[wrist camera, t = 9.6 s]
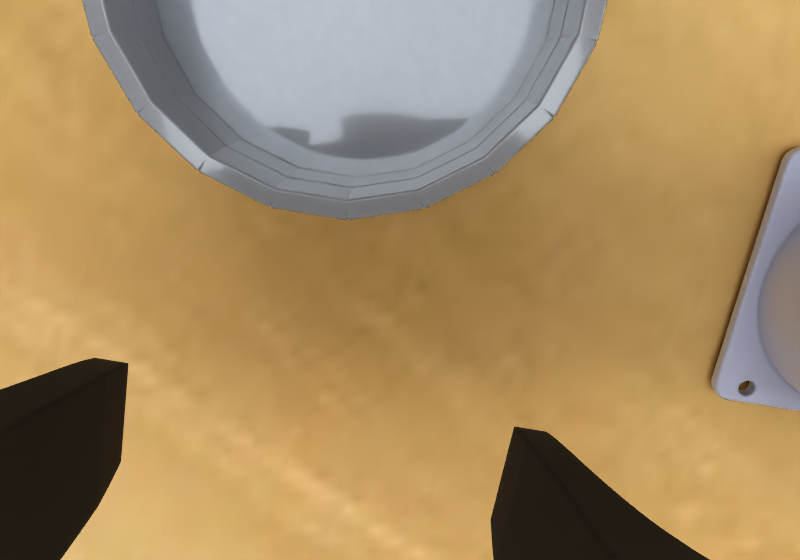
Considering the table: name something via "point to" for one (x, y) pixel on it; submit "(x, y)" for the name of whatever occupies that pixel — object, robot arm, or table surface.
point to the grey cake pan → (346, 90)
